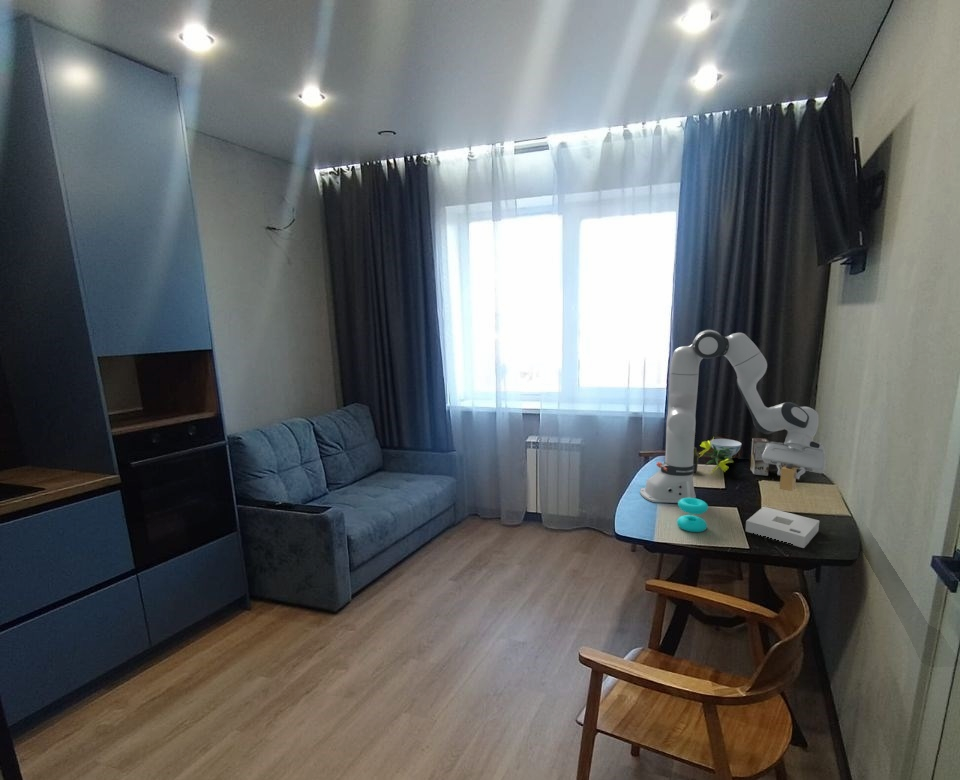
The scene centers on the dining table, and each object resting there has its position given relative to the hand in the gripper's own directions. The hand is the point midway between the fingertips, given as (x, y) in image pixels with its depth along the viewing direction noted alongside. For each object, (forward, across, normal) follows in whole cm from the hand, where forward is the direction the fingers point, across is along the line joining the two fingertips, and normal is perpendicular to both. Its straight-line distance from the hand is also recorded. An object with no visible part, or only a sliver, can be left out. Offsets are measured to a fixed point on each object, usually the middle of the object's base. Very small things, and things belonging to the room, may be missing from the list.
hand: (787, 476), depth 181 cm
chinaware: (-37, -46, +62) cm, 85 cm away
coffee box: (-25, -24, +50) cm, 61 cm away
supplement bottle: (-10, -49, +35) cm, 61 cm away
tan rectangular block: (+3, 0, +4) cm, 5 cm away
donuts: (+34, -22, -9) cm, 41 cm away
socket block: (+20, +2, +4) cm, 20 cm away
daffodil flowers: (-21, -42, +45) cm, 65 cm away
